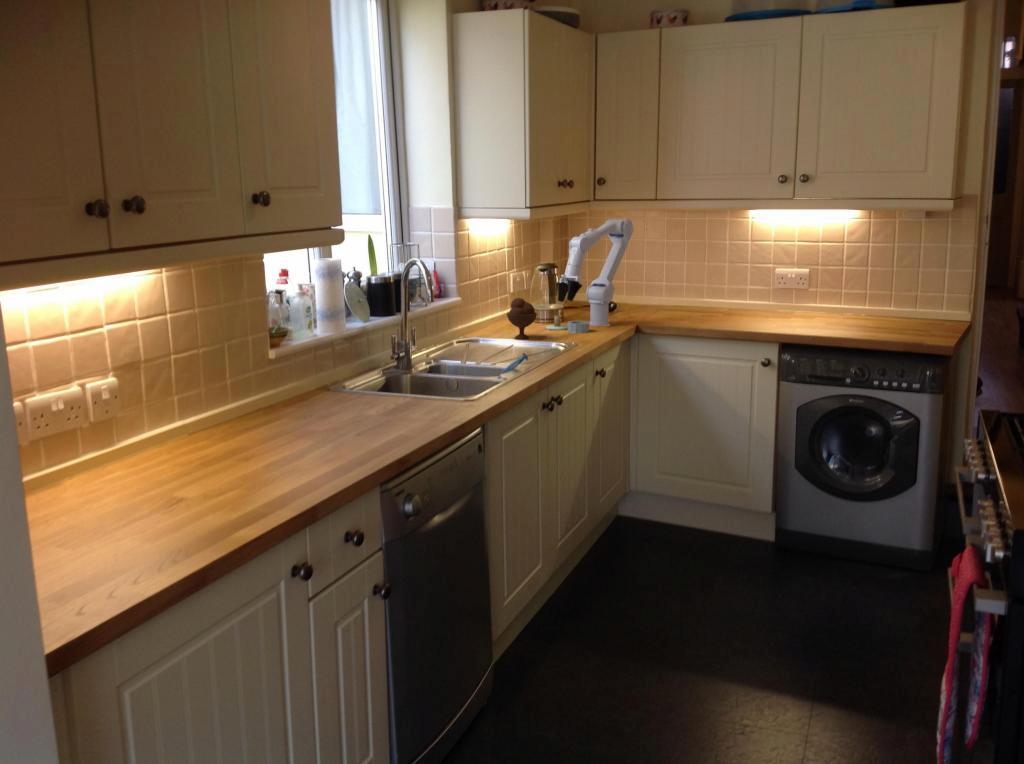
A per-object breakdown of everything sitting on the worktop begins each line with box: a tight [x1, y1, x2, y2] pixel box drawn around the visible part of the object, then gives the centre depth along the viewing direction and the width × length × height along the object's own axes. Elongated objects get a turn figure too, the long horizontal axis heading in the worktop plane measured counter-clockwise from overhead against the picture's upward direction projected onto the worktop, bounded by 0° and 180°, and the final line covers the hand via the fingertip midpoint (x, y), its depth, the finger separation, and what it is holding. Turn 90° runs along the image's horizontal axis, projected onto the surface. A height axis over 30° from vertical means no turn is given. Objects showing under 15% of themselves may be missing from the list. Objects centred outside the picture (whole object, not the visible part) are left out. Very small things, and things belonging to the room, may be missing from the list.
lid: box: [545, 315, 568, 331], centre depth 375 cm, size 9×9×5 cm
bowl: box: [567, 320, 590, 334], centre depth 368 cm, size 8×8×4 cm
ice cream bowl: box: [506, 297, 538, 341], centre depth 355 cm, size 11×11×15 cm
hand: (565, 301), depth 369 cm, fingers open, 7 cm apart
